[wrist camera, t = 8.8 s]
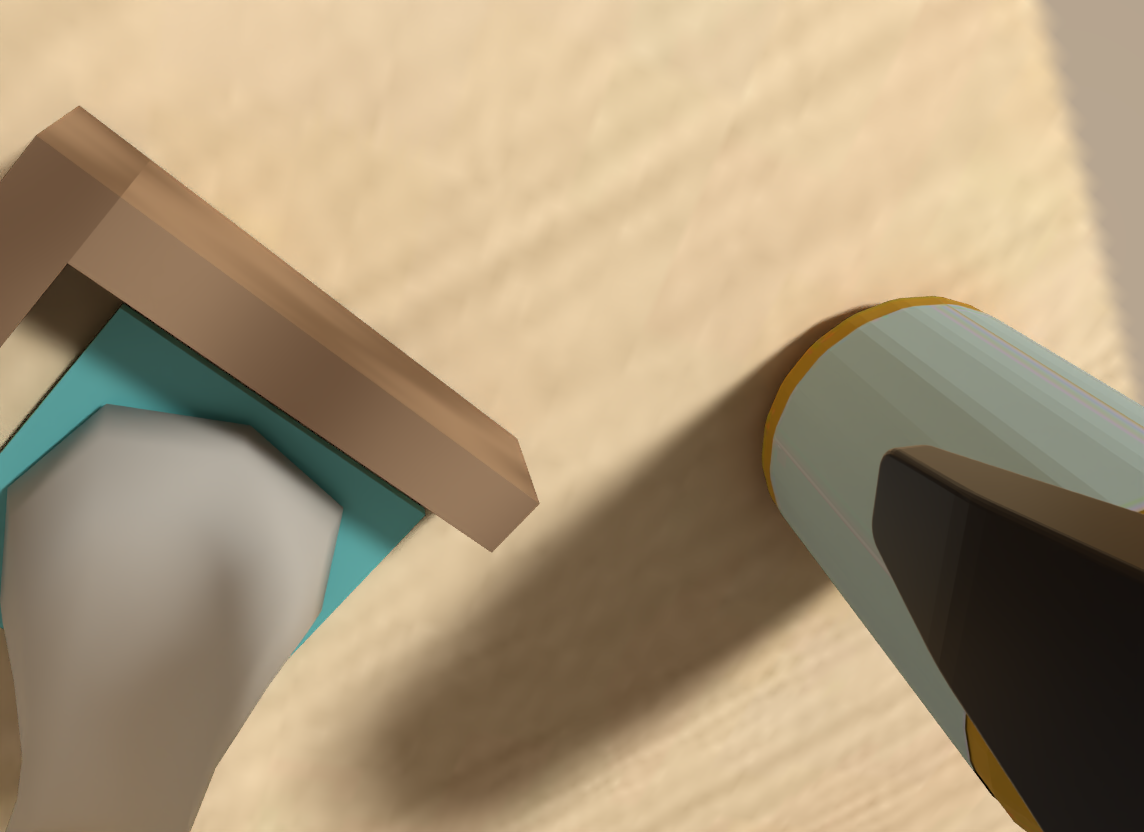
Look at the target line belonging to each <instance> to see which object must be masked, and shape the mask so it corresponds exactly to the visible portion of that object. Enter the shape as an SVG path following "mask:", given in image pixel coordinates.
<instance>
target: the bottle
mask: <svg viewBox="0 0 1144 832" xmlns="http://www.w3.org/2000/svg"><path fill="white" fill-rule="evenodd" d="M914 445H930V446H934V447H937V448H940V449H943V450H946V451H949V452H952V453H955V454H958V455H962V456H965V457H968V458H971V459H974V460H977V461H980V462H983V463H986V464H989V465H993V466H996V467H999V468H1002V469H1005V470H1008V471H1011V472H1014V473H1017V474H1021V475H1024V476H1027V477H1030V478H1033V479H1036V480H1039V481H1042V482H1045V483H1049V484H1052V485H1055V486H1058V487H1061V488H1064V489H1067V490H1070V491H1073V492H1077V493H1080V494H1083V495H1086V496H1089V497H1092V498H1095V499H1098V500H1101V501H1104V502H1108V503H1111V504H1114V505H1117V506H1120V507H1123V508H1126V509H1129V510H1132V511H1136V512H1139V513H1142V514H1144V407H1143V406H1141V405H1140V404H1138V403H1136V402H1135V401H1133V400H1131V399H1130V398H1128V397H1126V396H1125V395H1123V394H1121V393H1120V392H1118V391H1116V390H1115V389H1113V388H1111V387H1110V386H1108V385H1106V384H1105V383H1103V382H1101V381H1100V380H1098V379H1096V378H1095V377H1093V376H1091V375H1090V374H1088V373H1086V372H1085V371H1083V370H1081V369H1080V368H1078V367H1076V366H1075V365H1073V364H1071V363H1070V362H1068V361H1066V360H1065V359H1063V358H1061V357H1060V356H1058V355H1056V354H1055V353H1053V352H1051V351H1050V350H1048V349H1046V348H1045V347H1043V346H1041V345H1040V344H1038V343H1036V342H1034V341H1033V340H1031V339H1029V338H1028V337H1026V336H1024V335H1023V334H1021V333H1019V332H1018V331H1016V330H1014V329H1013V328H1011V327H1009V326H1008V325H1006V324H1004V323H1003V322H1001V321H999V320H998V319H996V318H994V317H992V316H990V315H989V314H987V313H984V312H982V311H980V310H979V309H977V308H975V307H973V306H971V305H968V304H964V303H961V302H958V301H954V300H951V299H947V298H944V297H936V296H926V297H911V298H899V299H895V300H890V301H887V302H884V303H882V304H879V305H877V306H874V307H871V308H869V309H866V310H864V311H861V312H858V313H856V314H854V315H852V316H851V317H849V318H847V319H845V320H844V321H843V322H841V323H840V324H839V325H837V326H836V327H834V328H833V329H832V330H830V331H829V332H828V333H826V334H825V335H824V336H822V337H821V338H819V339H818V340H817V341H816V342H815V343H814V344H813V345H812V346H811V347H810V348H809V349H808V350H807V351H806V352H805V353H804V355H803V356H802V357H801V358H800V360H799V361H798V362H797V363H796V365H795V366H794V367H793V368H792V370H791V371H790V372H789V373H788V375H787V376H786V378H785V379H784V381H783V382H782V384H781V386H780V388H779V390H778V393H777V395H776V397H775V400H774V402H773V404H772V407H771V409H770V411H769V414H768V416H767V420H766V423H765V427H764V437H763V447H762V467H763V471H764V475H765V479H766V483H767V487H768V491H769V494H770V496H771V498H772V500H773V502H774V503H775V504H776V506H777V507H778V508H779V510H780V512H781V514H782V516H783V517H784V518H785V520H786V521H787V522H788V524H789V525H790V526H791V528H792V529H793V530H794V532H795V533H796V534H797V536H798V537H799V538H800V540H801V541H802V542H803V544H804V545H805V546H806V548H807V549H808V550H809V552H810V553H811V554H812V556H813V557H814V558H815V560H816V561H817V562H818V564H819V565H820V566H821V568H822V569H823V570H824V572H825V573H826V574H827V576H828V577H829V578H830V580H831V581H832V582H833V584H834V585H835V586H836V588H837V589H838V590H839V592H840V593H841V595H842V596H843V597H844V599H845V600H846V601H847V603H848V604H849V605H850V607H851V608H852V609H853V611H854V612H855V613H856V615H857V616H858V617H859V619H860V620H861V621H862V623H863V624H864V625H865V627H866V628H867V629H868V631H869V632H870V633H871V635H872V636H873V637H874V639H875V640H876V641H877V643H878V644H879V645H880V647H881V648H882V649H883V651H884V652H885V653H886V655H887V656H888V657H889V659H890V660H891V661H892V663H893V664H894V665H895V667H896V668H897V669H898V671H899V672H900V673H901V675H902V676H903V677H904V679H905V680H906V681H907V683H908V684H909V685H910V687H911V688H912V689H913V691H914V692H915V693H916V695H917V696H918V697H919V699H920V700H921V701H922V703H923V704H924V705H925V707H926V708H927V709H928V711H929V712H930V713H931V715H932V716H933V717H934V719H935V720H936V721H937V723H938V724H939V725H940V727H941V728H942V729H943V731H944V732H945V733H946V735H947V736H948V737H949V739H950V740H951V741H952V743H953V744H954V745H955V747H956V748H957V749H958V751H959V752H960V753H961V755H962V756H963V757H964V759H965V760H966V761H967V763H968V764H969V765H970V767H971V768H972V769H973V771H974V772H975V773H976V775H977V776H978V777H979V779H980V780H981V781H982V783H983V784H984V785H985V787H986V788H987V789H988V791H989V792H990V793H991V795H992V796H993V797H994V798H996V799H997V800H998V801H999V802H1000V804H1001V805H1002V806H1003V808H1004V809H1005V810H1006V812H1007V813H1008V814H1009V816H1010V817H1011V818H1012V820H1013V821H1014V822H1015V823H1016V824H1017V825H1019V826H1020V827H1021V828H1022V829H1024V830H1025V831H1027V832H1043V831H1042V829H1041V828H1040V826H1039V825H1038V823H1037V822H1036V820H1035V819H1034V817H1033V816H1032V814H1031V812H1030V811H1029V809H1028V808H1027V806H1026V805H1025V803H1024V802H1023V800H1022V799H1021V797H1020V795H1019V794H1018V792H1017V791H1016V789H1015V788H1014V786H1013V785H1012V783H1011V782H1010V780H1009V778H1008V777H1007V775H1006V774H1005V772H1004V771H1003V769H1002V768H1001V766H1000V765H999V763H998V761H997V760H996V758H995V757H994V755H993V754H992V752H991V751H990V749H989V748H988V746H987V745H986V743H985V741H984V740H983V738H982V737H981V735H980V734H979V732H978V731H977V729H976V728H975V726H974V724H973V723H972V721H971V720H970V718H969V717H968V715H967V714H966V712H965V711H964V709H963V707H962V706H961V704H960V703H959V701H958V700H957V698H956V697H955V695H954V694H953V692H952V690H951V689H950V687H949V686H948V684H947V682H946V681H945V679H944V677H943V676H942V674H941V672H940V671H939V669H938V667H937V666H936V664H935V662H934V660H933V658H932V656H931V655H930V653H929V651H928V649H927V647H926V645H925V643H924V641H923V639H922V637H921V635H920V633H919V631H918V629H917V627H916V625H915V623H914V621H913V619H912V617H911V615H910V613H909V611H908V609H907V607H906V605H905V603H904V601H903V599H902V597H901V595H900V593H899V591H898V589H897V587H896V585H895V583H894V581H893V579H892V577H891V575H890V573H889V571H888V569H887V567H886V565H885V563H884V561H883V559H882V557H881V555H880V553H879V551H878V549H877V547H876V545H875V542H874V538H873V534H872V515H873V508H874V500H875V493H876V486H877V479H878V472H879V466H880V462H881V459H882V457H883V455H884V454H885V453H886V452H887V451H888V450H889V449H892V448H896V447H905V446H914Z"/></svg>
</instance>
